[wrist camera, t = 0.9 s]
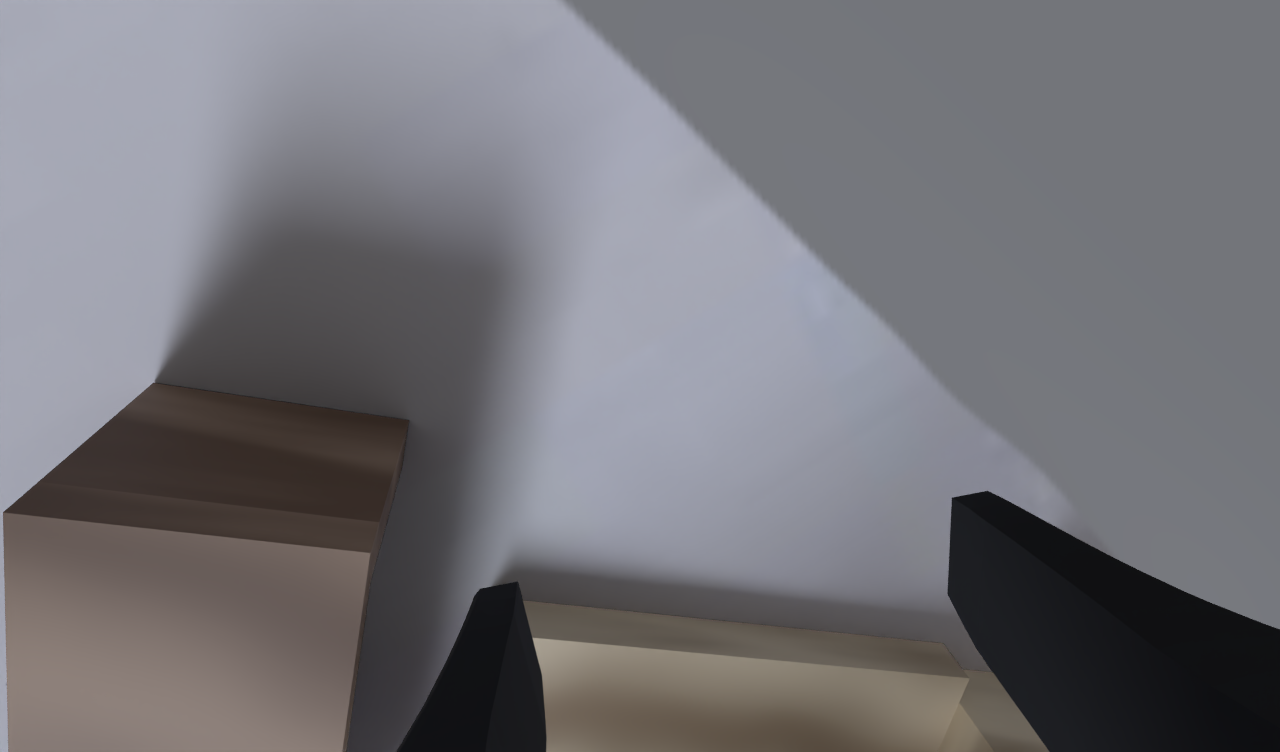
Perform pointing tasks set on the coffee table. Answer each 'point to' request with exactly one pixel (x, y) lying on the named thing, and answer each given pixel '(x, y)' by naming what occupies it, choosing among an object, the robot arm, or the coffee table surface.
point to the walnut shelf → (198, 578)
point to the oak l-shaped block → (758, 689)
